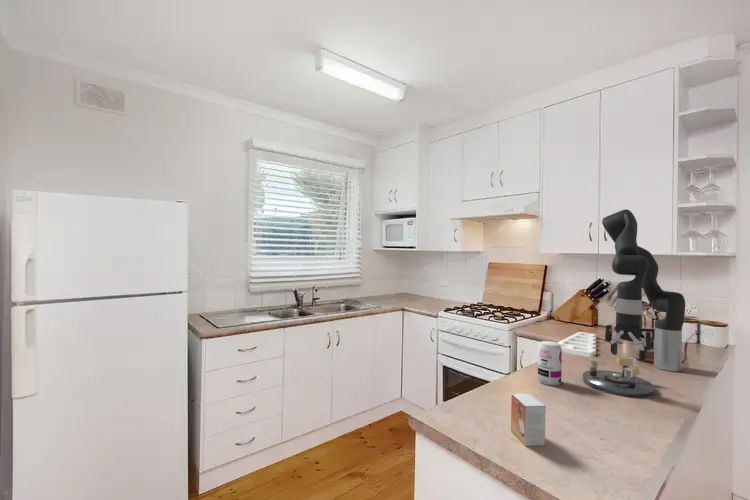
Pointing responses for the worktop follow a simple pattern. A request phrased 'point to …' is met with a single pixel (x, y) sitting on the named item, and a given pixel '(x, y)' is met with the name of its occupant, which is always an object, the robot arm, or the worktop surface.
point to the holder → (579, 344)
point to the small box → (528, 419)
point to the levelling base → (617, 384)
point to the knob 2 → (631, 375)
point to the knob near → (625, 362)
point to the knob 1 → (593, 366)
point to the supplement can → (549, 362)
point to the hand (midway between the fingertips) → (627, 357)
